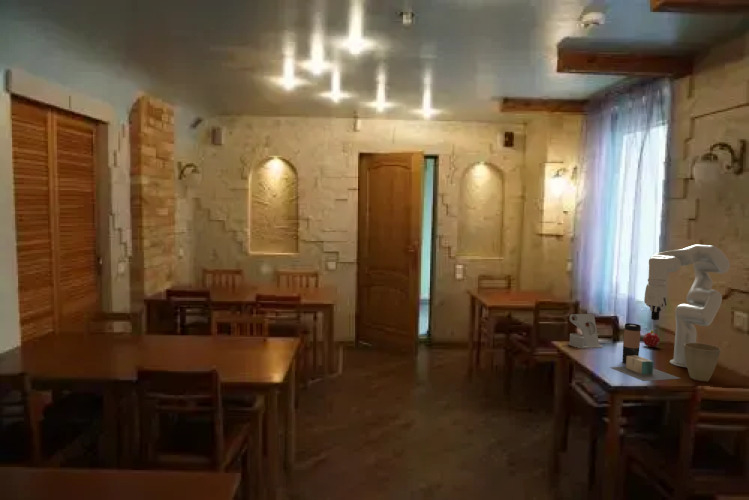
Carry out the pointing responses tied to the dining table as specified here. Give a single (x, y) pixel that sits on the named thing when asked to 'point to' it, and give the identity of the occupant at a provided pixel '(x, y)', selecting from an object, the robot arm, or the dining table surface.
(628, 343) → the travel mug
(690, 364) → the plant pot
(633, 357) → the maple block
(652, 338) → the christmas ornament
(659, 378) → the rubber mat
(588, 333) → the phone holder
